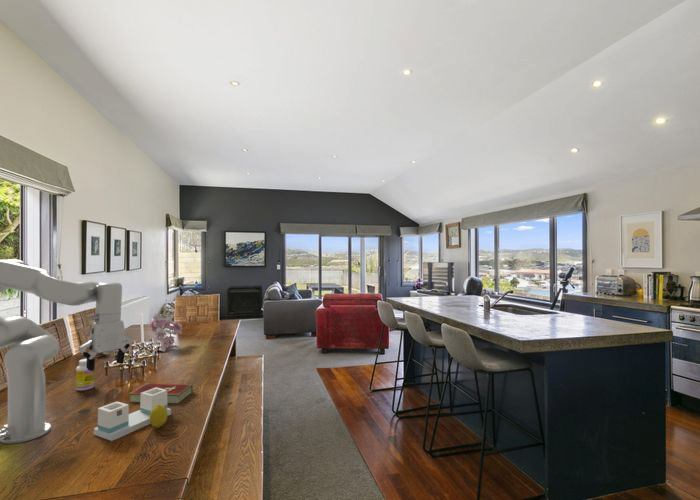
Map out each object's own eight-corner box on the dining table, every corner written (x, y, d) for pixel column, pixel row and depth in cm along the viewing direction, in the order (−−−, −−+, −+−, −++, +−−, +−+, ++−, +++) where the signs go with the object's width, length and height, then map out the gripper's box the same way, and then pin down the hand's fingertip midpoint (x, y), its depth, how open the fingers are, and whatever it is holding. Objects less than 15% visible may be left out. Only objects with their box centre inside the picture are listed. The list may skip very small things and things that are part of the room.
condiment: (87, 356, 215) (87, 336, 215) (101, 352, 223) (101, 333, 223) (96, 357, 212) (96, 337, 212) (110, 353, 220) (110, 334, 220)
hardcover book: (146, 392, 161) (146, 382, 161) (192, 393, 160) (192, 383, 160) (128, 403, 149) (128, 393, 149) (178, 404, 148) (178, 394, 148)
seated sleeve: (151, 415, 133) (151, 395, 133) (140, 411, 135) (140, 392, 136) (167, 408, 138) (167, 390, 139) (155, 405, 141) (156, 387, 141)
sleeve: (97, 429, 122) (97, 408, 122) (116, 421, 128) (117, 401, 128) (109, 433, 119) (110, 412, 119) (128, 425, 125) (129, 404, 125)
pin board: (111, 441, 118) (112, 419, 118) (93, 434, 122) (93, 413, 123) (171, 414, 138) (171, 395, 138) (153, 409, 142) (153, 391, 142)
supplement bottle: (84, 391, 160) (84, 362, 160) (71, 390, 161) (72, 361, 161) (97, 386, 167) (97, 358, 167) (85, 385, 168) (85, 357, 168)
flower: (194, 346, 233) (188, 309, 241) (161, 350, 214) (155, 310, 222) (176, 355, 242) (170, 320, 250) (142, 360, 223) (137, 321, 231)
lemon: (163, 422, 131) (163, 400, 131) (170, 427, 128) (170, 404, 128) (146, 428, 127) (147, 405, 127) (153, 433, 123) (153, 409, 123)
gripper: (86, 322, 118) (84, 375, 118) (138, 315, 134) (136, 362, 133) (74, 319, 122) (72, 371, 122) (126, 313, 137) (124, 359, 137)
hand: (105, 366), depth 128 cm, fingers open, 9 cm apart
